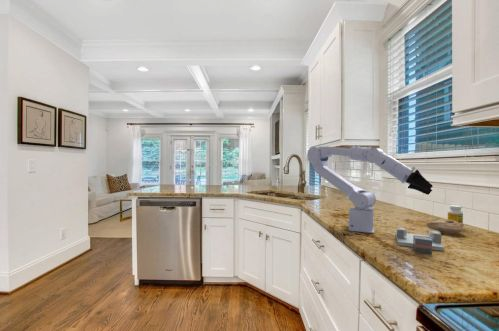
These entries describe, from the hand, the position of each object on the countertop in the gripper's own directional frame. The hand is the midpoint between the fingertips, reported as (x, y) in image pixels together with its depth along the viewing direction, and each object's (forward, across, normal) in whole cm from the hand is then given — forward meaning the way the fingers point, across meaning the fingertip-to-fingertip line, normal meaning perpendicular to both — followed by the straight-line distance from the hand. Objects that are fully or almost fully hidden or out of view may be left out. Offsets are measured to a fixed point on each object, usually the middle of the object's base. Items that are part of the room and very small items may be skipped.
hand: (430, 190), depth 97 cm
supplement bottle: (+13, +37, +2) cm, 39 cm away
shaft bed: (+8, +3, +17) cm, 19 cm away
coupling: (+10, -7, +19) cm, 22 cm away
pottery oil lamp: (+12, +25, +7) cm, 28 cm away
